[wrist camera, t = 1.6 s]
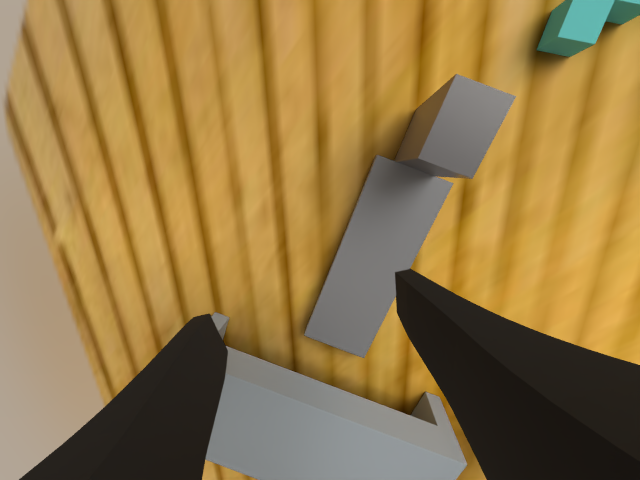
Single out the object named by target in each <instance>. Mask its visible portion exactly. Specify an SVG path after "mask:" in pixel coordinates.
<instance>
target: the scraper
mask: <svg viewBox="0 0 640 480" xmlns="http://www.w3.org/2000/svg"><path fill="white" fill-rule="evenodd" d="M515 98H516V96H513V95H511V94H508V93H505V92H503V91H500V90H497V89H495V88H492V87H490V86H487V85H484V84H482V83H479V82H476V81H474V80H471V79H468V78H466V77H463V76H460V75H458V74H456V75H455V76H453V77H452V78H451V79H450V80H449V81H448V82H447V83H446V84H444V85H443V86H442V87H441V88H440V89H439V90H438V91H436V92H435V93H434V94H433V95H432V96H431V97H430V98H428V99H427V100H426V101H425V102H424V103H423V104H422V105H420V106H419V107H418V108H417V109H416V111H415V114H414V116H413V118H412V121H411V123H410V125H409V128H408V130H407V132H406V134H405V137H404V139H403V141H402V144H401V146H400V148H399V151H398V153H397V155H396V158H395V160H394V161H393V160H390V159H388V158H385V157H382V156H380V155H376V156H375V159H374V161H373V163H372V166H371V168H370V171H369V173H368V176H367V178H366V181H365V183H364V186H363V188H362V191H361V193H360V196H359V198H358V200H357V203H356V205H355V208H354V210H353V213H352V215H351V218H350V220H349V223H348V225H347V228H346V230H345V233H344V235H343V237H342V240H341V242H340V245H339V247H338V250H337V252H336V255H335V257H334V260H333V262H332V265H331V267H330V270H329V272H328V275H327V277H326V279H325V282H324V284H323V287H322V289H321V292H320V294H319V297H318V299H317V302H316V304H315V307H314V309H313V312H312V314H311V316H310V319H309V321H308V324H307V326H306V329H305V333H304V336H307V337H309V338H312V339H315V340H317V341H320V342H323V343H325V344H328V345H331V346H333V347H336V348H338V349H341V350H344V351H346V352H349V353H352V354H354V355H357V356H360V357H362V358H364V357H365V355H366V353H367V351H368V349H369V347H370V345H371V343H372V341H373V339H374V338H375V336H376V334H377V332H378V330H379V328H380V326H381V324H382V322H383V320H384V318H385V316H386V314H387V312H388V310H389V308H390V306H391V304H392V302H393V300H394V298H395V297H396V285H395V272H398V271H402V270H407V269H410V267H411V265H412V263H413V261H414V259H415V257H416V255H417V254H418V252H419V250H420V248H421V246H422V244H423V242H424V240H425V238H426V236H427V234H428V232H429V230H430V228H431V226H432V224H433V222H434V220H435V218H436V216H437V214H438V213H439V211H440V209H441V207H442V205H443V203H444V201H445V199H446V197H447V195H448V193H449V191H450V189H451V187H452V185H453V183H451V182H448V181H446V180H443V179H441V178H438V177H435V176H439V177H454V178H469V179H472V178H473V177H474V175H475V173H476V171H477V169H478V167H479V165H480V163H481V162H482V160H483V158H484V156H485V154H486V152H487V150H488V148H489V146H490V145H491V143H492V141H493V139H494V137H495V135H496V133H497V131H498V130H499V128H500V126H501V124H502V122H503V120H504V118H505V116H506V114H507V113H508V111H509V109H510V107H511V105H512V103H513V101H514V99H515Z"/></svg>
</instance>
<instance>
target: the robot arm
mask: <svg viewBox="0 0 640 480" xmlns="http://www.w3.org/2000/svg"><path fill="white" fill-rule="evenodd" d="M395 285H396V303H397V314H398V316H399V318H400V320H401V322H402V325H403V327H404V329H405V331H406V333H407V335H408V337H409V339H410V340H411V342H412V344H413V345H414V347H415V349H416V350H417V352H418V353H419V355H420V357H421V358H422V360H423V362H424V363H425V365H426V366H427V368H428V370H429V371H430V373H431V374H432V376H433V378H434V379H435V381H436V382H437V384H438V386H439V387H440V389H441V391H442V392H443V394H444V396H445V397H446V399H447V401H448V403H449V404H450V406H451V408H452V410H453V412H454V414H455V416H456V418H457V420H458V422H459V424H460V426H461V428H462V430H463V432H464V434H465V436H466V438H467V440H468V442H469V444H470V446H471V448H472V450H473V452H474V454H475V456H476V458H477V460H478V462H479V464H480V466H481V469H482V471H483V473H484V475H485V477H486V479H487V480H640V365H637V364H634V363H631V362H627V361H624V360H620V359H617V358H614V357H611V356H607V355H604V354H601V353H598V352H595V351H592V350H588V349H585V348H583V347H580V346H577V345H574V344H571V343H568V342H565V341H562V340H560V339H557V338H554V337H551V336H548V335H546V334H543V333H540V332H538V331H535V330H533V329H530V328H528V327H525V326H523V325H520V324H518V323H516V322H513V321H511V320H508V319H506V318H504V317H501V316H499V315H497V314H495V313H493V312H490V311H488V310H486V309H484V308H482V307H480V306H478V305H476V304H474V303H472V302H470V301H468V300H466V299H464V298H462V297H460V296H458V295H456V294H455V293H453V292H451V291H449V290H447V289H445V288H444V287H442V286H440V285H438V284H436V283H435V282H433V281H431V280H429V279H428V278H426V277H424V276H422V275H421V274H419V273H417V272H415V271H413V270H412V269H407V270H402V271H398V272H395ZM227 357H228V350H227V348H226V346H225V344H224V342H223V340H222V338H221V336H220V334H219V332H218V330H217V328H216V326H215V323H214V321H213V319H212V317H211V315H210V314H206V315H201V316H197V317H193V318H192V319H191V320H190V321H189V322H188V323H187V324H186V325H185V326H184V327H183V328H182V329H181V330H180V331H179V332H178V333H177V334H176V335H175V336H174V338H173V339H172V340H171V341H170V342H169V343H168V344H167V345H166V346H165V347H164V348H163V349H162V350H161V351H160V352H159V353H158V354H157V355H156V357H155V358H154V359H153V360H152V361H151V362H150V363H149V364H148V365H147V366H146V367H145V368H144V369H143V370H142V371H141V372H140V373H139V374H138V375H137V376H136V377H135V378H134V379H133V380H132V381H131V382H130V383H129V384H128V385H127V386H126V387H125V388H124V389H123V390H122V391H121V392H120V393H119V394H118V395H117V396H116V397H115V398H114V399H113V400H112V401H111V402H109V403H108V404H107V405H106V406H105V407H104V408H103V409H102V410H101V411H100V412H99V413H98V414H96V415H95V416H94V417H93V418H92V419H91V420H90V421H89V422H88V423H87V424H85V425H84V426H83V427H82V428H81V429H80V430H78V431H77V432H76V433H75V434H74V435H73V436H72V437H70V438H69V439H68V440H67V441H66V442H65V443H63V444H62V445H61V446H60V447H59V448H57V449H56V450H55V451H54V452H52V453H51V454H50V455H49V456H48V457H46V458H45V459H44V460H43V461H42V462H40V463H39V464H38V465H37V466H35V467H34V468H33V469H32V470H30V471H29V472H28V473H27V474H25V475H24V476H23V477H22V478H21V479H19V480H202V475H203V469H204V464H205V459H206V454H207V449H208V445H209V441H210V437H211V433H212V429H213V425H214V421H215V417H216V413H217V409H218V405H219V401H220V397H221V393H222V389H223V385H224V380H225V374H226V367H227Z"/></svg>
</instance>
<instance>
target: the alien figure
mask: <svg viewBox="0 0 640 480" xmlns="http://www.w3.org/2000/svg"><path fill="white" fill-rule="evenodd" d="M639 15H640V0H565V1H564V2H563V3H561V4H560V5H559V6H558V7H556V8H555V9H554V10H552V12H551V15H550V17H549V20H548V22H547V25H546V27H545V30H544V32H543V35H542V38H541V40H540V43H539V45H538V48H537V50H538V51H543V52H548V53H553V54H558V55H563V56H568V57H571V56H573V55H575V54H577V53H578V52H580V51H582V50H584V49H586V48H588V47H590V46H592V45H594V44H595V43H596V41H597V38H598V36H599V34H600V32H601V30H602V27H603V25H604V23H605V21H607V22H612V23H617V24H624V23H626V22H627V21H629V20H631V19H633V18H635V17H637V16H639Z"/></svg>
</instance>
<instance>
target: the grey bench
mask: <svg viewBox="0 0 640 480" xmlns="http://www.w3.org/2000/svg"><path fill="white" fill-rule="evenodd" d="M211 317H212V319H213V321H214V323H215V326H216V328H217V330H218V332H219V334H220V336H221V338H222V340H223V338H224V334H225V331H226V327H227V324H228V321H229V317H227V316H224V315H222V314H219V313H216V312H215V313H214V314H213V315H212V316H211ZM226 348H227V350H228V357H227V367H226V374H225V380H224V385H223V389H222V393H221V397H220V401H219V405H218V409H217V413H216V417H215V421H214V425H213V429H212V433H211V437H210V441H209V445H208V449H207V454H206V460H208V461H211V462H214V463H216V464H219V465H221V466H224V467H227V468H229V469H232V470H235V471H237V472H240V473H243V474H245V475H248V476H250V477H253V478H256V479H258V480H456V478H457V477H458V476H459V475H460V473H461V472H462V471H463V470H464V468H465V467H466V466H467V463H466V460H465V458H464V455H463V453H462V450H461V448H460V446H459V443H458V441H457V438H456V436H455V433H454V431H453V429H452V426H451V424H450V421H449V419H448V416H447V414H446V412H445V409H444V407H443V404H442V402H441V399H440V397H438V396H436V395H433V394H430V393H428V392H425V393H424V395H423V396H422V398H421V400H420V401H419V403H418V404H417V406H416V407H415V409H414V411H413V412H412V414H411V415H407V414H405V413H402V412H399V411H397V410H394V409H392V408H389V407H386V406H384V405H381V404H378V403H376V402H373V401H370V400H368V399H365V398H362V397H360V396H357V395H355V394H352V393H349V392H347V391H344V390H341V389H339V388H336V387H333V386H331V385H328V384H325V383H323V382H320V381H318V380H315V379H312V378H310V377H307V376H304V375H302V374H299V373H296V372H294V371H291V370H288V369H286V368H283V367H281V366H278V365H275V364H273V363H270V362H267V361H265V360H262V359H259V358H257V357H254V356H251V355H249V354H246V353H244V352H241V351H238V350H236V349H233V348H230V347H228V346H226Z"/></svg>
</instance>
